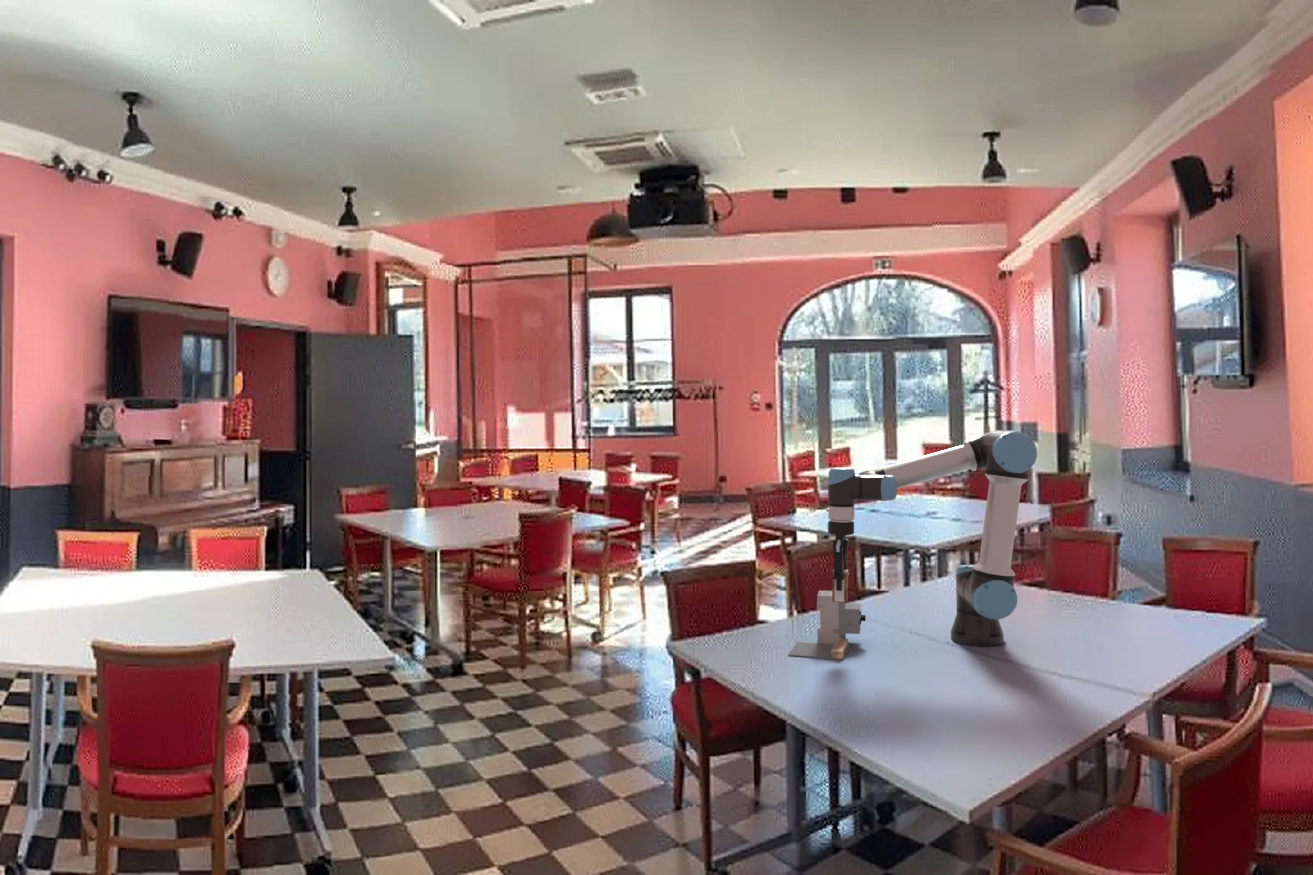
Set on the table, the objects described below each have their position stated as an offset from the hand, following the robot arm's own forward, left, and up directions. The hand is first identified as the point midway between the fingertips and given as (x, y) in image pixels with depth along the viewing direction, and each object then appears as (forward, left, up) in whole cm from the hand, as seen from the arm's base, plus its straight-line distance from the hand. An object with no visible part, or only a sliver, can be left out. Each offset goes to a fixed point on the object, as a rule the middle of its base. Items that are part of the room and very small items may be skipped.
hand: (840, 599), depth 248 cm
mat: (+6, +1, -16) cm, 17 cm away
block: (0, 0, 0) cm, 0 cm away
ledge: (0, +1, -16) cm, 16 cm away
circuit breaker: (+1, -11, -16) cm, 19 cm away
